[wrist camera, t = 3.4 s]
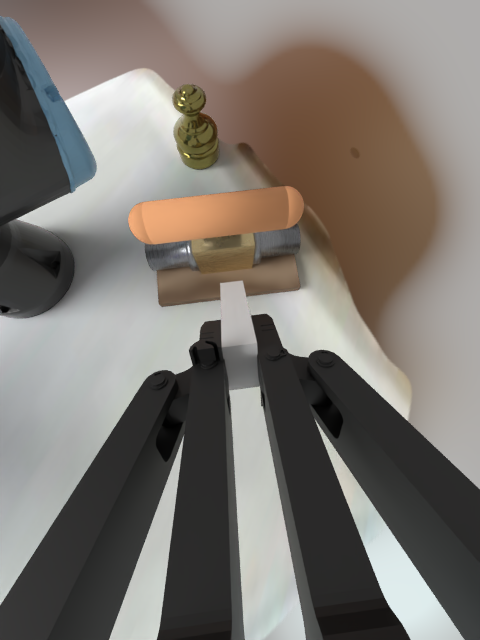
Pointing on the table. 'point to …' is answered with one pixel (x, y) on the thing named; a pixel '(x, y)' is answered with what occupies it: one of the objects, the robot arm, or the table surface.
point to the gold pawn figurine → (194, 128)
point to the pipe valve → (225, 265)
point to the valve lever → (216, 215)
